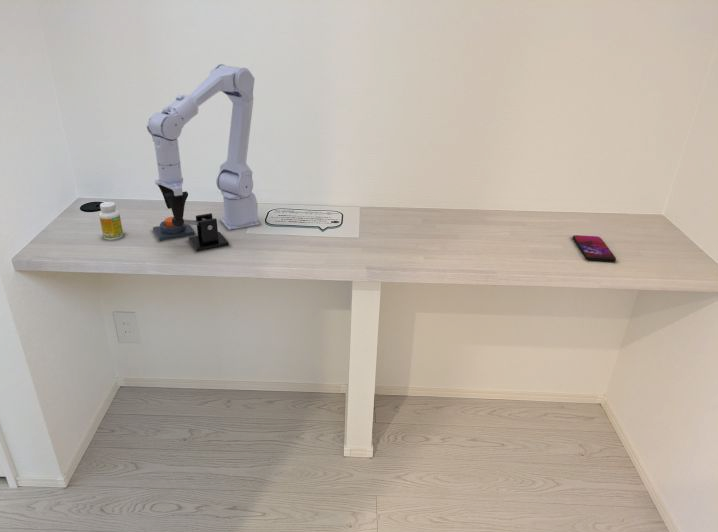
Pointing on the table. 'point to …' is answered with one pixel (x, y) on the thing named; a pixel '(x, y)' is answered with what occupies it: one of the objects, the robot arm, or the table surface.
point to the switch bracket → (207, 234)
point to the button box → (172, 231)
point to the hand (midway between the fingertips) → (175, 212)
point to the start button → (169, 222)
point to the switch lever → (186, 222)
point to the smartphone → (594, 248)
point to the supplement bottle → (110, 221)
